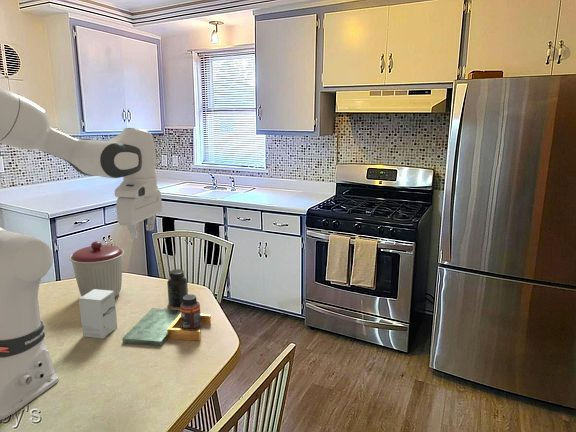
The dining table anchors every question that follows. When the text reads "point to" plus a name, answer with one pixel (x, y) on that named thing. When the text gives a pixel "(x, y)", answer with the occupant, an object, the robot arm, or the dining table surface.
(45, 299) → the dining table surface
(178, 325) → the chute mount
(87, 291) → the canister
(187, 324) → the supplement bottle
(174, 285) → the supplement bottle
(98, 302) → the supplement box
